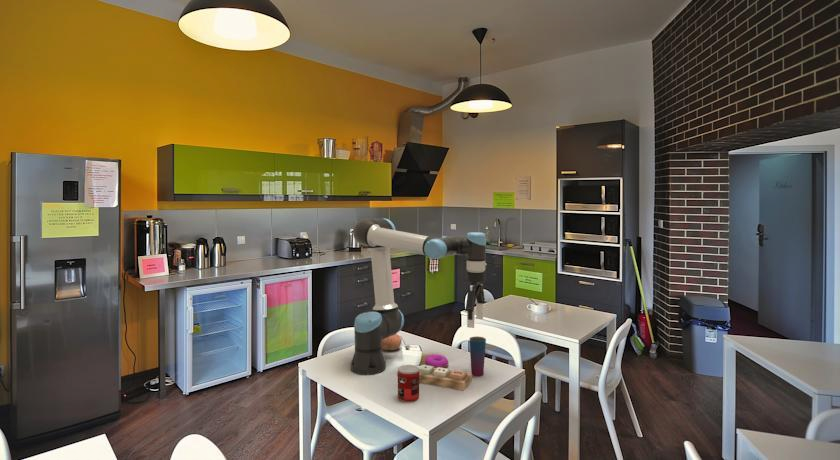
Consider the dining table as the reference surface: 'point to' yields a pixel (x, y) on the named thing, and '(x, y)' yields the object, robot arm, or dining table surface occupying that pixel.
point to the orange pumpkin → (391, 342)
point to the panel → (445, 380)
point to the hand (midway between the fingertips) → (475, 323)
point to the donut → (436, 361)
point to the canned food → (408, 383)
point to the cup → (477, 355)
